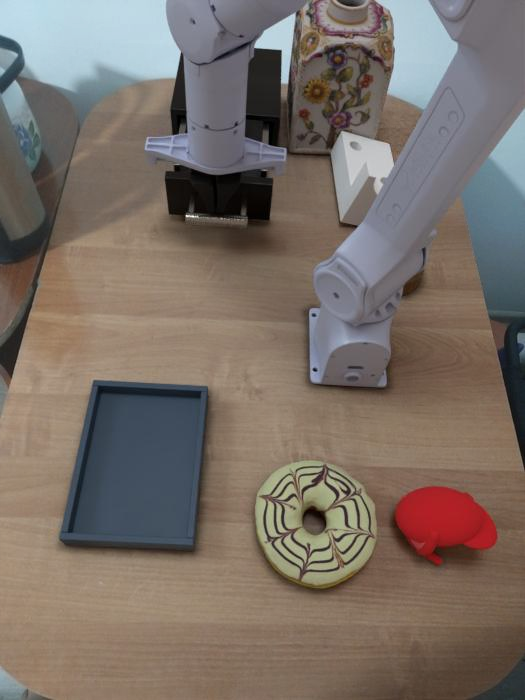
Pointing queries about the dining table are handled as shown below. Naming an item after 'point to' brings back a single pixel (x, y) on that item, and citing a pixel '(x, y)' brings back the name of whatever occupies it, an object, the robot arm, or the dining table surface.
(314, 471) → the decorated donut
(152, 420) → the tray
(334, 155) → the bracket
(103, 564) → the dining table surface
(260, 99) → the black drawer cabinet
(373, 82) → the decorative jar
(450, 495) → the cap
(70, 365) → the dining table surface
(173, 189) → the drawer
